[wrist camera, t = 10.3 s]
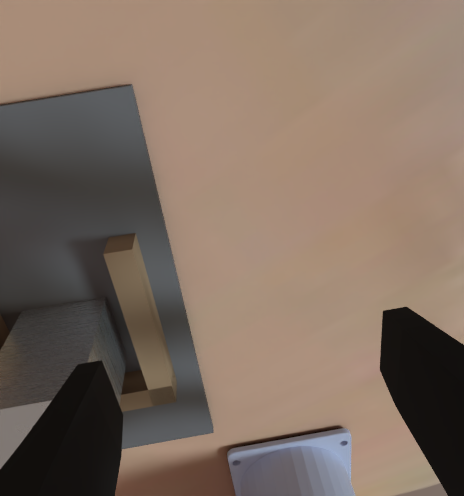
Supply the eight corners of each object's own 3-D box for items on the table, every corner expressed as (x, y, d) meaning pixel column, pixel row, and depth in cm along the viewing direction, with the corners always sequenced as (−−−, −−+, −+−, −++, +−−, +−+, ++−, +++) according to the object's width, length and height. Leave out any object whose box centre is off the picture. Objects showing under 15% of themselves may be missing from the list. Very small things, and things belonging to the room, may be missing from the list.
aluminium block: (127, 358, 22) (109, 465, 17) (50, 371, 22) (9, 483, 17) (105, 296, 20) (78, 395, 15) (21, 311, 20) (-36, 415, 15)
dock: (213, 427, 26) (215, 455, 24) (34, 459, 25) (24, 490, 24) (132, 84, 16) (126, 91, 14) (-160, 130, 16) (-200, 143, 14)
